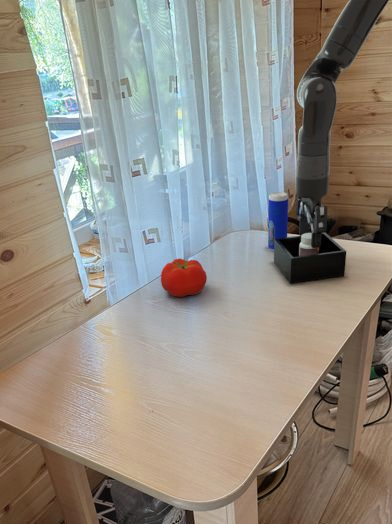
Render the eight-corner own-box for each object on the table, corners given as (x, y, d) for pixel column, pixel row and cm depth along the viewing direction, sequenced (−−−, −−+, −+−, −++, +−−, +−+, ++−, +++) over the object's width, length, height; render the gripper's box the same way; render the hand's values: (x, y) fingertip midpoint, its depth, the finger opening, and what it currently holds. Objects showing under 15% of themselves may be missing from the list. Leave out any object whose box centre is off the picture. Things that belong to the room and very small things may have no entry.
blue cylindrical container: (266, 246, 145) (266, 192, 137) (284, 244, 145) (285, 190, 137) (270, 252, 141) (271, 198, 133) (289, 250, 141) (290, 196, 133)
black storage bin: (323, 256, 136) (325, 232, 133) (344, 276, 125) (346, 251, 121) (273, 262, 135) (274, 238, 131) (290, 284, 124) (291, 258, 120)
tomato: (212, 297, 121) (210, 268, 116) (166, 305, 119) (162, 275, 115) (201, 279, 129) (199, 251, 125) (159, 286, 128) (155, 258, 124)
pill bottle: (320, 269, 128) (322, 237, 123) (302, 272, 127) (303, 240, 123) (313, 262, 132) (315, 231, 127) (295, 265, 131) (297, 233, 127)
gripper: (340, 179, 112) (335, 249, 120) (317, 164, 123) (313, 229, 132) (307, 183, 111) (304, 253, 120) (287, 168, 123) (285, 233, 131)
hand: (309, 241), depth 126 cm, fingers open, 8 cm apart
